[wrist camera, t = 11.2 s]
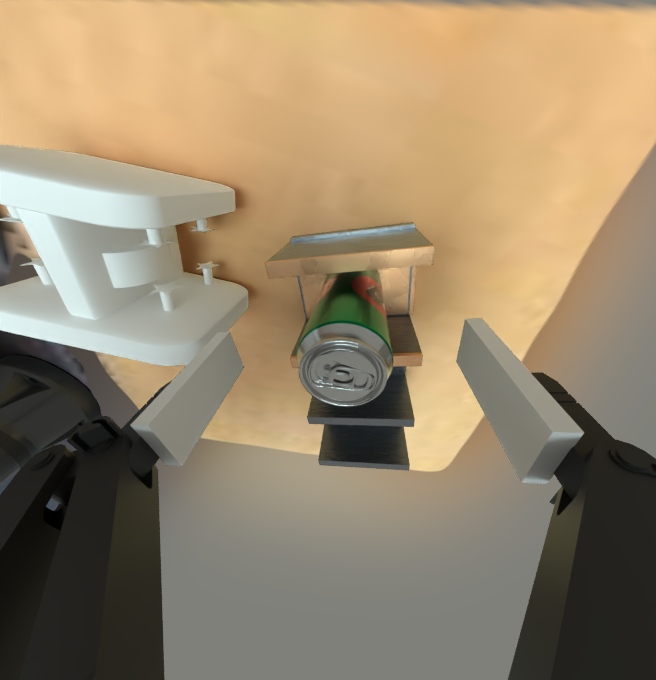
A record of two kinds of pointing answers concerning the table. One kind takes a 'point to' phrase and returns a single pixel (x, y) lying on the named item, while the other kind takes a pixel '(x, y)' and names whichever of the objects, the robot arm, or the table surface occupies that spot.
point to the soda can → (347, 341)
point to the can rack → (398, 291)
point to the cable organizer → (113, 257)
